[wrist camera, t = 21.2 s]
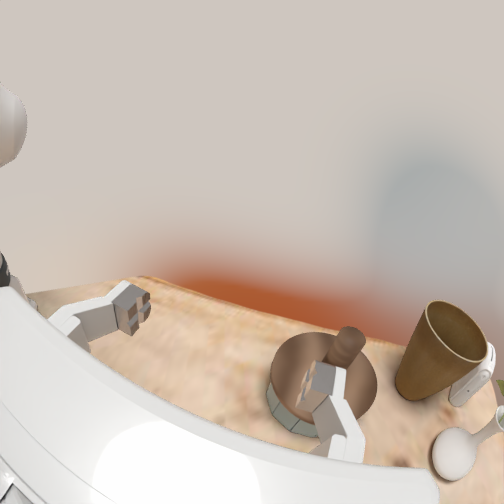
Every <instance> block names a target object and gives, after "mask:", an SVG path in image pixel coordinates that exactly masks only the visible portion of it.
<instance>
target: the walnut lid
mask: <svg viewBox="0 0 504 504" xmlns="http://www.w3.org/2000/svg"><path fill="white" fill-rule="evenodd" d="M365 343H366V339H365V336H364V335H363V333H362V332H361V331H359V330H358V329H356V328H354V327H349V326H347V327H343V328H342V329H341V330H340V332H339V333H338V335H337V336H334V335H331V334H327V333H320V332H310V333H303V334H299V335H296V336H294V337H292V338H290V339H288V340H287V341H286V342H284V343H283V344H282V345H281V347H280V348H279V349H278V351H277V352H276V355H275V357H274V359H273V362H272V365H271V373H270V376H271V383H272V387H273V390H274V392H275V394H276V396H277V398H278V399H279V401H280V402H281V403H282V405H283V406H284V407H285V408H286V409H287V410H288V411H289V412H290V413H291V414H293V415H294V416H295V417H297V418H299V419H301V420H302V421H304V422H307V423H309V424H312V425H315V423H314V419H313V416H312V413H311V412H308V411H305V410H301V409H298V408H295V406H296V402H297V398H298V395H299V394H300V393H301V388H300V387H301V383H302V380H303V378H304V376H305V374H306V372H307V370H309V369H311V364H312V363H313V361H315V360H317V361H320V362H324V363H327V364H330V365H334V366H336V367H340V368H343V369H346V381H345V390H344V399H345V400H347V402H348V404H349V406H350V408H351V410H352V413H353V415H354V417H355V419H356V420H357V419H359V418H360V417H361V416H362V415H363V414H364V413H365V412H366V411H368V409H369V408H370V407H371V405H372V404H373V402H374V400H375V397H376V393H377V378H376V374H375V371H374V369H373V367H372V365H371V363H370V362H369V360H368V359H367V357H366V356H365V355H364V354H363V353H362V352H361V350H362V348H363V347H364V345H365Z"/></svg>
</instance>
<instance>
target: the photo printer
mask: <svg viewBox="0 0 504 504" xmlns="http://www.w3.org/2000/svg"><path fill="white" fill-rule="evenodd" d="M487 344H488V355H487V357H486V359H485V360H484V361H482V362H481V363H480V364H479V365H478V366H477V367H475V368H474V369H473V370H472V371H470V372H469V373H468V374H467V375H465V376H464V377H462V378H461V379H460V380H458V381H457V382H455V383H453V384H452V388H451V391H450V396H449V400H450V403H451V404H452V405H453V406H455V407H458V406H461V405H462V404H464V403H465V402H466V401H467V400H468V399H470V398H471V397H472V396H473V395H474V394H475V393H476V392H477V391H478V390H479V389H481V388H482V387H483V386H484V385H485V384H486V383H487V382H488V381H489V379H490V378H491V376H492V374H493V371H494V366H495V349H494V347H493V345H492V344H490V343H489V342H487Z"/></svg>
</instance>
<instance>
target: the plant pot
mask: <svg viewBox="0 0 504 504" xmlns="http://www.w3.org/2000/svg"><path fill="white" fill-rule="evenodd" d="M487 355H488V344H487V341H486V338H485V335H484V334H483V332H482V330H481V328H480V327H479V326H478V324H477V323H476V322H475V321H474V320H473V319H472V318H471V317H470V316H469V315H468V314H467V313H466V312H465V311H463V310H462V309H461V308H459V307H457V306H456V305H453V304H452V303H449V302H446V301H443V300H433V301H430V302H429V303H428V304H427V306H426V308H425V310H424V312H423V314H422V316H421V318H420V320H419V322H418V324H417V326H416V329H415V331H414V333H413V335H412V337H411V340H410V342H409V344H408V346H407V349H406V351H405V354H404V356H403V359H402V361H401V364H400V367H399V370H398V373H397V376H396V379H395V384H396V387H397V390H398V391H399V393H400V394H401V395H402V396H403V397H404V398H406V399H408V400H411V401H416V400H420V399H423V398H425V397H428V396H430V395H433V394H435V393H437V392H439V391H441V390H443V389H445V388H447V387H448V386H450V385H452V384H453V383H455V382H457V381H458V380H460V379H461V378H462V377H464V376H465V375H467V374H468V373H469V372H470V371H472V370H473V369H474V368H475V367H477V366H478V365H479V364H480V363H481V362H482V361H484V360H485V359H486V357H487Z"/></svg>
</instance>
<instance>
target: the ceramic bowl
mask: <svg viewBox="0 0 504 504" xmlns="http://www.w3.org/2000/svg"><path fill="white" fill-rule="evenodd" d="M266 396H267V399H268V403H269V406H270V410H271V414H272V415H273V416H274V417H275V418H276V419H277V420H278V421H279V422H280V423H281V424H282V425H283V426H284V427H285V428H287V429H288V430H289V431H290V432H294V433H298V434H301V435H305V436H309V437H318V432H317V429H316V426H315V425H312V424H309V423H307V422H304V421H302V420H301V419H299V418H297V417H295V416H294V415H293V414H291V413H290V412H289V411H288V410H287V409H286V408H285V407H284V406H283V405H282V403H281V402H280V401H279V399H278V398H277V396H276V394H275V392H274V390H273V387H272V383H271V381H270V384H269V387H268V390H267V392H266Z"/></svg>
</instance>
